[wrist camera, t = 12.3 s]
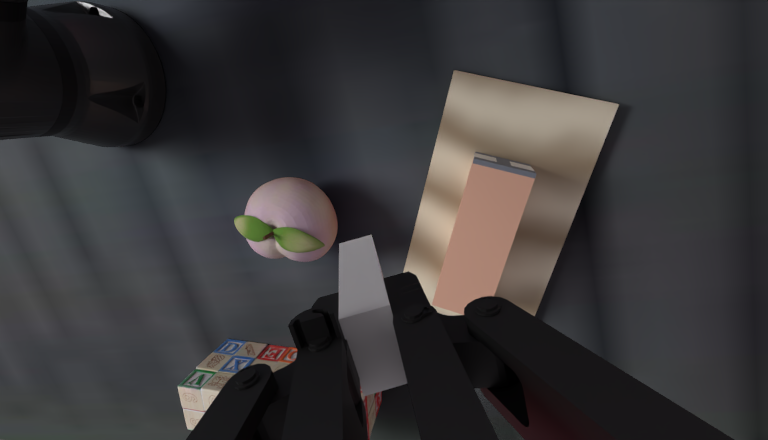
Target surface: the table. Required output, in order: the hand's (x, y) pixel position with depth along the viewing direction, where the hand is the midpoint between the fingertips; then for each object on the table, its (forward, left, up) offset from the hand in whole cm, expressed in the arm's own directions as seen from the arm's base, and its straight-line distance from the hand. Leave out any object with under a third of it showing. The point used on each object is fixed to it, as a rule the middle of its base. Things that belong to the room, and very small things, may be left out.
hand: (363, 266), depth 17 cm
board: (+5, +5, -23) cm, 24 cm away
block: (+1, +7, -19) cm, 20 cm away
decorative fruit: (-2, -13, -23) cm, 27 cm away
